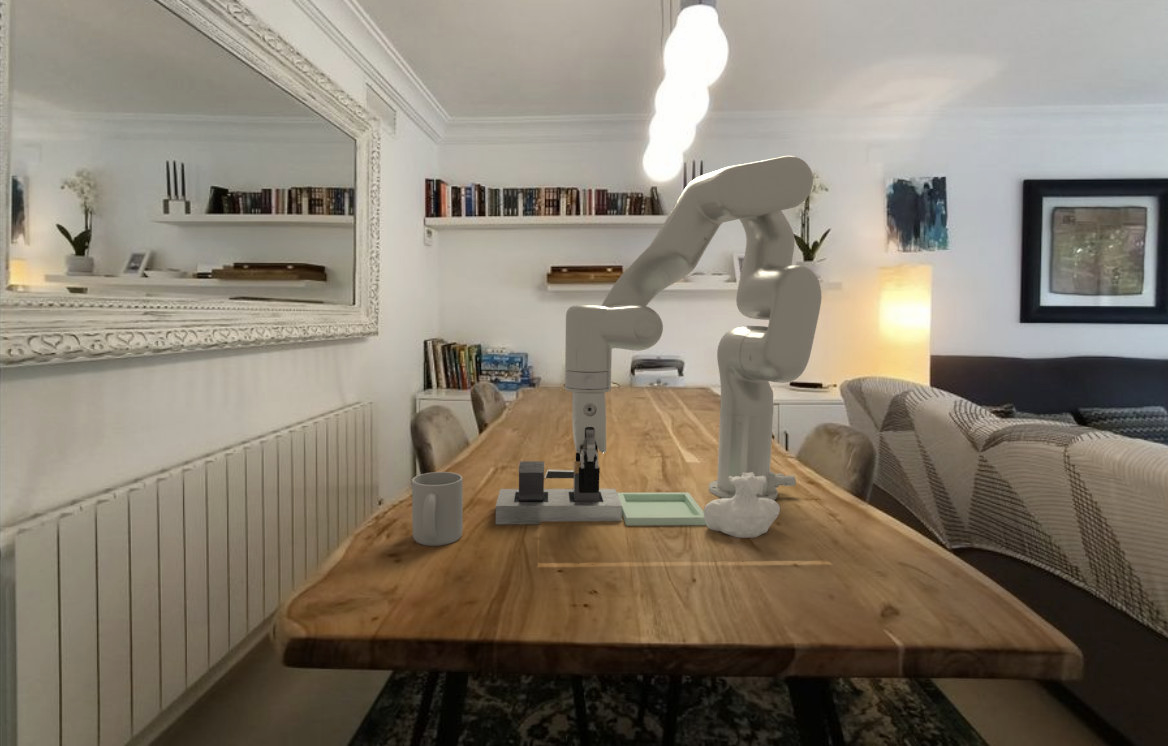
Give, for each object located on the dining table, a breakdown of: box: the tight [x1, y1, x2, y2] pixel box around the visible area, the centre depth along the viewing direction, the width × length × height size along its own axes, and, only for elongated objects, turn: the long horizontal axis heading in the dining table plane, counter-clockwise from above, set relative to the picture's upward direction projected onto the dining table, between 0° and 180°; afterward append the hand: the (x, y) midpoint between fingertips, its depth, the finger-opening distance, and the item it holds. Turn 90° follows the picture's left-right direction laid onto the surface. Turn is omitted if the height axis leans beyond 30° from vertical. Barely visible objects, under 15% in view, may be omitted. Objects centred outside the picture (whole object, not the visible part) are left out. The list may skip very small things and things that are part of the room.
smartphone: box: [544, 469, 574, 479], centre depth 117 cm, size 7×16×1 cm, turn 178°
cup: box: [411, 471, 464, 547], centre depth 86 cm, size 7×10×9 cm
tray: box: [617, 491, 707, 526], centre depth 99 cm, size 13×13×2 cm
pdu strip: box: [495, 460, 623, 525], centre depth 98 cm, size 20×9×8 cm, turn 94°
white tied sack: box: [703, 472, 781, 539], centre depth 90 cm, size 12×8×11 cm
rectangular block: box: [572, 461, 601, 502], centre depth 98 cm, size 4×4×8 cm
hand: (586, 483), depth 98 cm, fingers open, 9 cm apart
